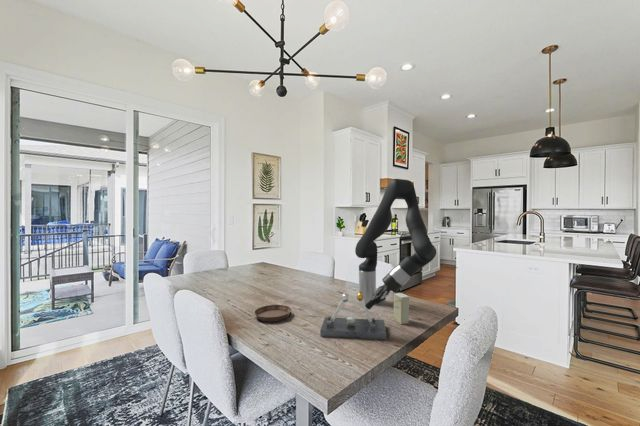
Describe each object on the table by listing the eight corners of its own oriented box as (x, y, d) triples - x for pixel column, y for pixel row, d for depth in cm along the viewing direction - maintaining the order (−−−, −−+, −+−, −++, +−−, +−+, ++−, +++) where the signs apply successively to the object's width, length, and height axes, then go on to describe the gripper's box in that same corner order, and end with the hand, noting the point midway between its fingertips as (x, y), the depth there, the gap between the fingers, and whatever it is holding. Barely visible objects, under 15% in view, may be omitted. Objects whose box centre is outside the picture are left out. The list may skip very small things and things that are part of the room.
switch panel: (325, 322, 133) (325, 312, 133) (384, 325, 129) (383, 315, 129) (320, 336, 119) (320, 325, 119) (386, 340, 115) (386, 328, 115)
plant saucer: (252, 312, 147) (252, 306, 147) (286, 308, 153) (286, 302, 153) (257, 326, 131) (257, 319, 131) (295, 320, 137) (295, 314, 137)
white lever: (328, 318, 128) (344, 291, 126) (333, 322, 127) (349, 295, 126) (327, 322, 124) (343, 294, 122) (332, 325, 123) (349, 297, 122)
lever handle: (369, 323, 125) (356, 293, 125) (374, 321, 125) (361, 290, 125) (369, 327, 121) (355, 295, 122) (375, 324, 121) (361, 293, 121)
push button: (347, 321, 126) (346, 316, 126) (355, 321, 126) (355, 317, 126) (346, 324, 123) (346, 320, 123) (355, 324, 122) (355, 320, 122)
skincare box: (393, 319, 136) (392, 293, 136) (401, 318, 137) (401, 292, 137) (401, 324, 130) (401, 297, 130) (409, 323, 132) (409, 296, 131)
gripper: (388, 268, 128) (360, 296, 130) (391, 275, 115) (360, 306, 117) (401, 281, 127) (373, 308, 129) (405, 289, 114) (374, 320, 116)
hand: (367, 307), depth 123 cm, fingers closed
